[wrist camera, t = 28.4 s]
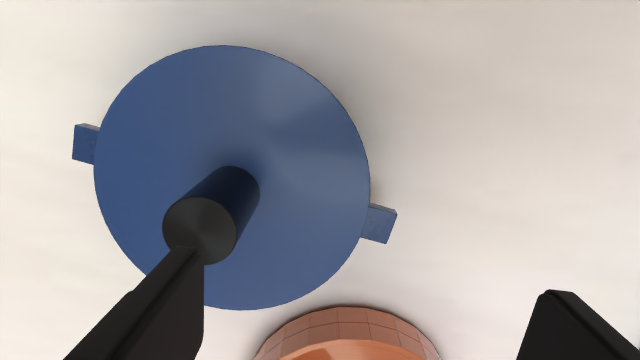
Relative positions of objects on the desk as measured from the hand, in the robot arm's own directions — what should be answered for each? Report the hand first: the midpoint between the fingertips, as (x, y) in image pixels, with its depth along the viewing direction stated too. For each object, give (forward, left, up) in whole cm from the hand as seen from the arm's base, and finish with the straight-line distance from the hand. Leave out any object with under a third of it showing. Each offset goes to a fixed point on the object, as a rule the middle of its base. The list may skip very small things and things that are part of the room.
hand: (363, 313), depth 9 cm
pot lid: (+3, -7, -13) cm, 15 cm away
